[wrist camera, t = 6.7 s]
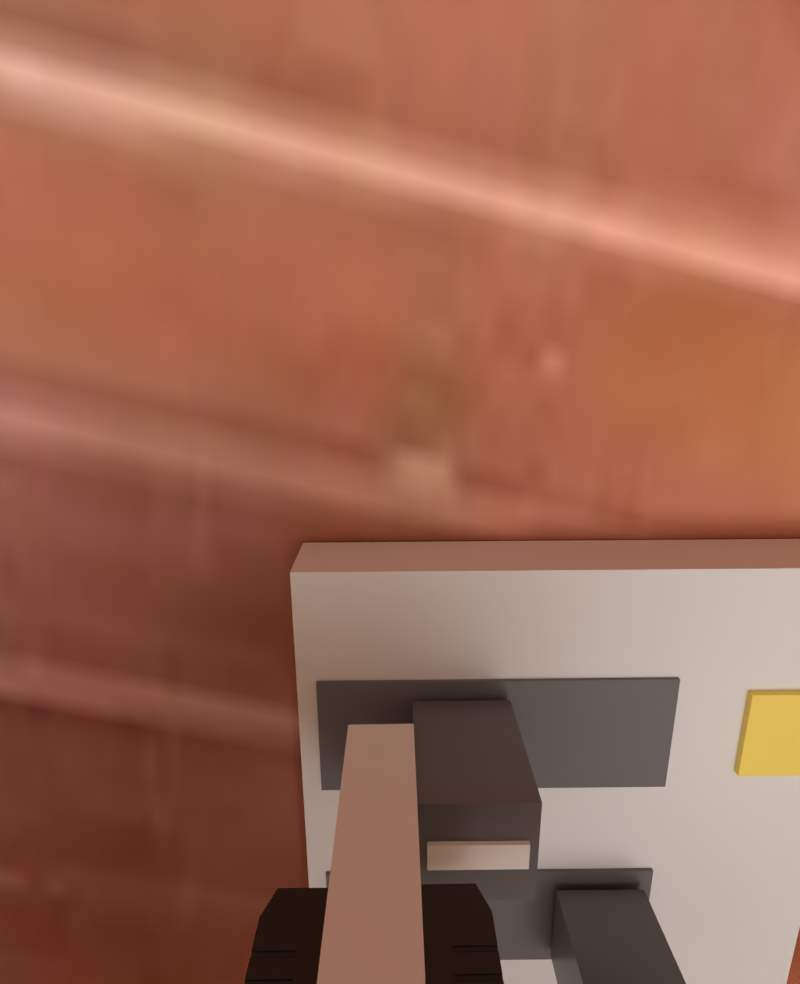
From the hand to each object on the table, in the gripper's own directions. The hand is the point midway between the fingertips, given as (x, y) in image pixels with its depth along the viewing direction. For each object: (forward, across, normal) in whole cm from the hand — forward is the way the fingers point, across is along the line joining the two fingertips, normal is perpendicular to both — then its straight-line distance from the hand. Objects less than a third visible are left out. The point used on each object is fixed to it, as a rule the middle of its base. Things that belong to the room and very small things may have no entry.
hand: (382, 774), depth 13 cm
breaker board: (+4, +5, -3) cm, 7 cm away
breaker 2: (+1, +6, -6) cm, 9 cm away
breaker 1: (+1, +2, 0) cm, 2 cm away
